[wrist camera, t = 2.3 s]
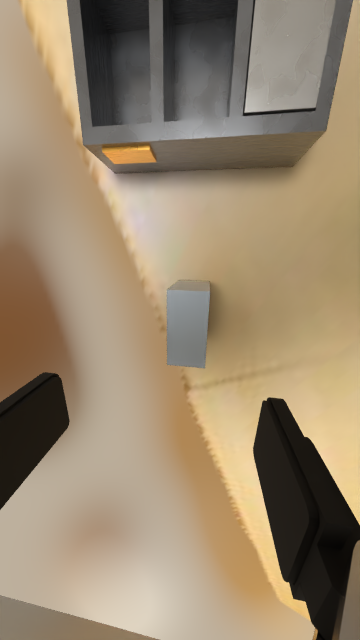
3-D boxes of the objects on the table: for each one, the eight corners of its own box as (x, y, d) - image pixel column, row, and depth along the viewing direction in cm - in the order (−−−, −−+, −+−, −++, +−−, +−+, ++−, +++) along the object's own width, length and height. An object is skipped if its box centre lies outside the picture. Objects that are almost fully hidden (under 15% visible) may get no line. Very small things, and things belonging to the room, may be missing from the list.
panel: (209, 281, 25) (210, 291, 17) (205, 337, 27) (204, 368, 20) (179, 280, 25) (166, 289, 18) (178, 335, 28) (167, 364, 20)
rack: (321, -2, 16) (384, -147, 10) (292, 169, 20) (326, 134, 14) (103, 29, 19) (56, -74, 13) (115, 176, 22) (82, 148, 17)
